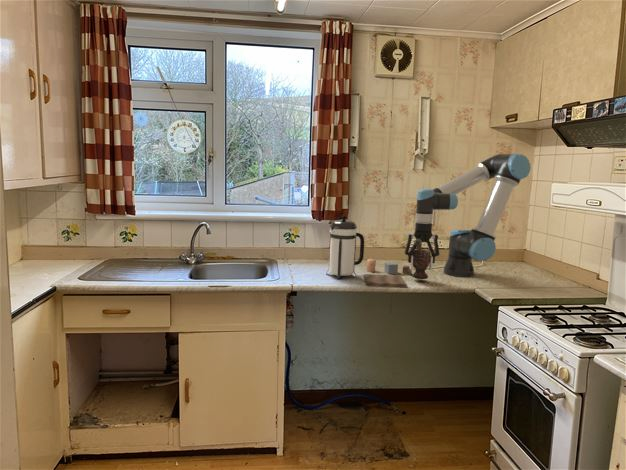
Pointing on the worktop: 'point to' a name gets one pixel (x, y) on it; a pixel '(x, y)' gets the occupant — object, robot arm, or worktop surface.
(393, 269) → the slate grey cube
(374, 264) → the terracotta capsule
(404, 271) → the dark oak block
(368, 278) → the walnut board
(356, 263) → the coffee press
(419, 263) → the mortar and pestle
